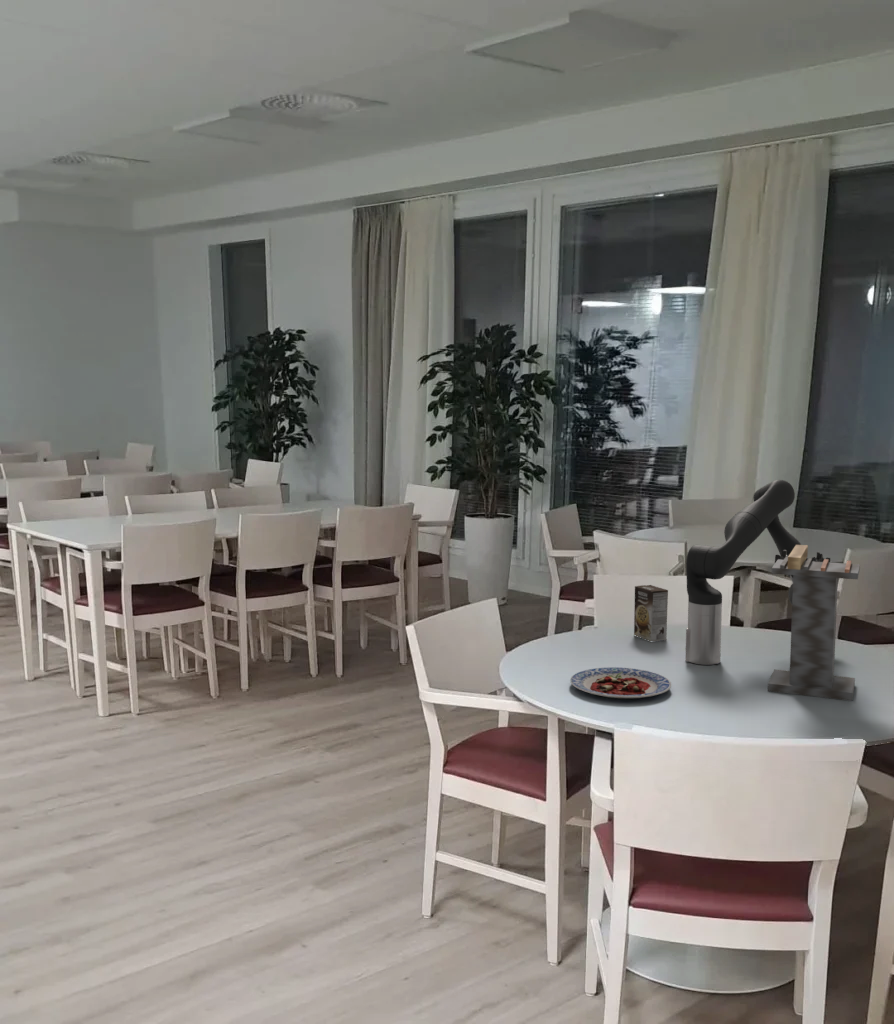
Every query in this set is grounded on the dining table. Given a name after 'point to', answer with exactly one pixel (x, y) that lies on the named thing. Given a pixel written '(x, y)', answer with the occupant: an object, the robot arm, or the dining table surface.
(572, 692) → the dining table surface
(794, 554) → the oak bar
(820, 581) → the grey pedestal stand
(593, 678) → the ceramic plate
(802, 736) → the dining table surface
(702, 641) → the robot arm
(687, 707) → the dining table surface
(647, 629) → the printed cardboard box
